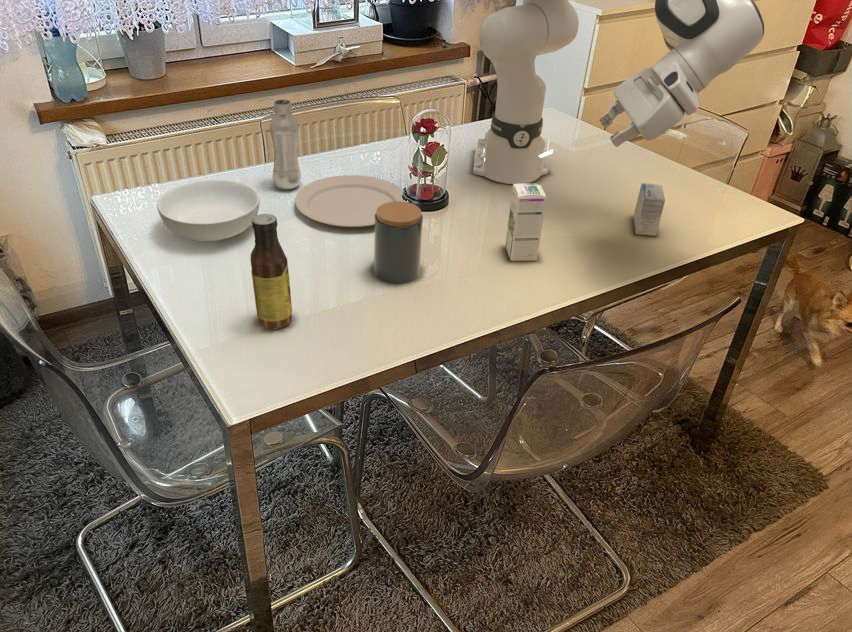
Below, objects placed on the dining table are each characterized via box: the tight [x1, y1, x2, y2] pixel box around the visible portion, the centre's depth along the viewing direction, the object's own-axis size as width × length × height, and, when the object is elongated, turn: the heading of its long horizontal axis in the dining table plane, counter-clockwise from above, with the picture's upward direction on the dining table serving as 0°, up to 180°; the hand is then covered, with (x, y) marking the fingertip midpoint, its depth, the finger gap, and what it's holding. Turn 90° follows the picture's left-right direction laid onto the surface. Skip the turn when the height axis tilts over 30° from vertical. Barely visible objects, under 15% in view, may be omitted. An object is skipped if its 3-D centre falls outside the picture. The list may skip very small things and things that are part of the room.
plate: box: [294, 174, 410, 228], centre depth 165 cm, size 26×26×2 cm
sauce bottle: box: [249, 213, 293, 330], centre depth 124 cm, size 7×6×20 cm
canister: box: [373, 201, 424, 284], centre depth 140 cm, size 9×9×13 cm
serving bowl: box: [156, 179, 261, 242], centre depth 154 cm, size 21×21×7 cm
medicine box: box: [632, 182, 666, 237], centre depth 159 cm, size 8×4×9 cm, turn 168°
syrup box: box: [504, 182, 547, 262], centre depth 146 cm, size 6×6×14 cm
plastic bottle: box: [269, 99, 302, 190], centre depth 168 cm, size 6×7×20 cm
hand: (606, 133), depth 135 cm, fingers open, 8 cm apart
